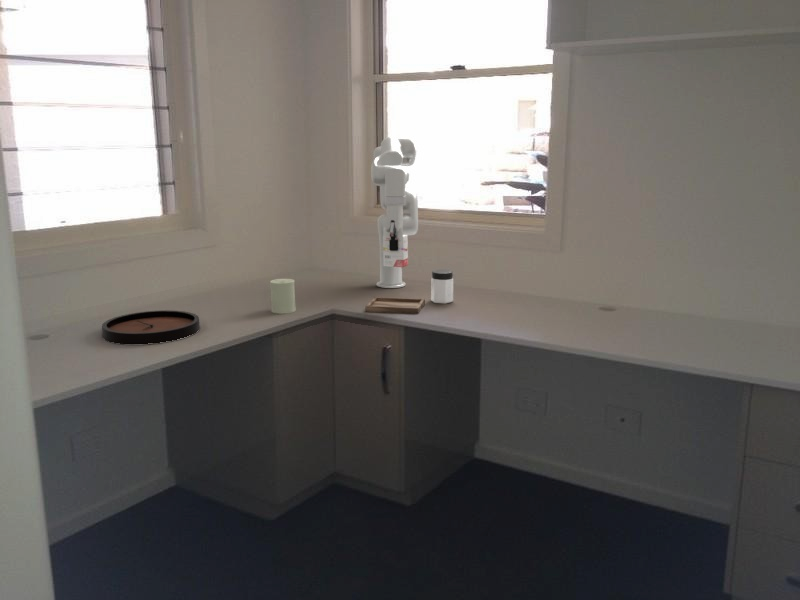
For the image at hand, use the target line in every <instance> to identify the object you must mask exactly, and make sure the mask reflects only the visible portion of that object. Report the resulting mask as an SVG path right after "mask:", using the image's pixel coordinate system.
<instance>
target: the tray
mask: <svg viewBox="0 0 800 600" xmlns="http://www.w3.org/2000/svg"><path fill="white" fill-rule="evenodd" d="M425 304H426V300H425V298H410V297H409V298H408V297H405V298H404V297H385V296H384V297H382V296H379V297H378V296H374V298H372V300H370V301H369V302H368V304H366V306H365V312H371V313H391V314H393V313H394V314H417V315H418V314H420V311H422V308H423V307H424V306H425Z"/></svg>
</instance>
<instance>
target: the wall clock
mask: <svg viewBox="0 0 800 600" xmlns="http://www.w3.org/2000/svg"><path fill="white" fill-rule="evenodd" d="M199 329H201V325H200V317H199V315H197V314H196V313H194V312H189V311H185V310H184V311H183V310H170V309H168V310H167V309H165V310H148V311H147V310H146V311H139V312H131V313H127V314H124V315H123V314H122V315H118V316H116V317H113V318H109V319H107V320H105V321H104V322H103V323H102V324H101V334H102V339H103V338H104V339H105V340H104V339H103V340H104V341H106V342H108V341H109V342H108V343H111V342H114V343H113V344H116V343H120V344H119V345H124V344H148V343H158V344H161V343H160V342H166V341H171V342H173V341H172V340H176V341H178V340H177V339H180V338H184V337H187V336H189V335H192V334H194V333H196V332H197V331H198V330H199ZM199 331H200V330H199ZM199 331H198V332H199ZM198 332H197V333H198ZM197 333H196V334H197ZM194 335H195V334H194ZM192 336H193V335H192ZM187 338H188V337H187ZM184 339H185V338H184ZM180 340H181V339H180ZM166 343H167V342H166ZM148 345H149V344H148Z"/></svg>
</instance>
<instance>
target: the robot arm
mask: <svg viewBox="0 0 800 600" xmlns="http://www.w3.org/2000/svg"><path fill="white" fill-rule="evenodd" d="M416 142H417V141H416V140H415V139H414V138H413V137H412V136H408V135H407V136H401V135H400V136H399V135H398V136H387V137H385V138H384V139H382V141H381V142H380V146H377V147H376V148H374V150H373V153H372V154H373V160H372V163H371V166H370V177H371V182H372V184H373V185H375V186H376V187H377V186H379V194H380V195H379V196H380V197H379V198H380V207H381V208H382V209H383V210H385V211H386V213H383V214H381V215H380V216H378V218H377V220H376V221H377V231H378V238H379V281H377V282H376V286H377V287H379V288H383V289H398V288H403V287H405V286H406V282H405V281H403V267H390V266H383V228H386V231H387V232H389V229H390V240H389V250H390V251H398V240H397V235H398V232H399V230H400V228H403V235H408V236H414V235H416V234H417V233H418V231H419V210H418V209H419V207H418V204H419V203H418V194H417V191H416V190H415V189H414V188H411V187H406V185H407V183H408V182H409V180H410V172H409V169H408V168H407V167H410V166H413V164H414V163H415V160H416V158H417V157H416V156H417V151H418V150H417V149H418V147H417V143H416ZM404 211H406V212H407V213H406V212H405V213H404ZM394 230H396V231H394ZM395 234H396V236H395Z"/></svg>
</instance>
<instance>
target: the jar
mask: <svg viewBox="0 0 800 600" xmlns="http://www.w3.org/2000/svg"><path fill="white" fill-rule="evenodd" d="M453 276H454V274H453V271H452V270H450V269H435V270H432V271H431V279H430V281H431V282H430V283H431V284H430V292H431V293H430V301H432V302H433V303H434V304H448V303H452V302H454V278H453Z"/></svg>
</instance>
